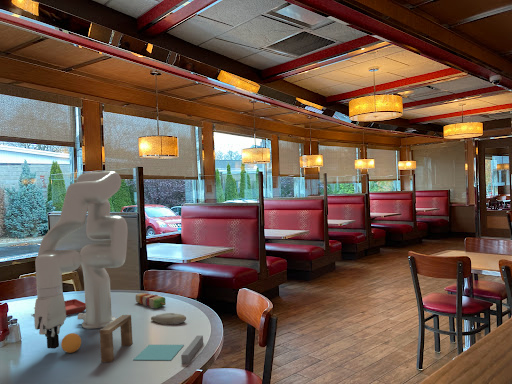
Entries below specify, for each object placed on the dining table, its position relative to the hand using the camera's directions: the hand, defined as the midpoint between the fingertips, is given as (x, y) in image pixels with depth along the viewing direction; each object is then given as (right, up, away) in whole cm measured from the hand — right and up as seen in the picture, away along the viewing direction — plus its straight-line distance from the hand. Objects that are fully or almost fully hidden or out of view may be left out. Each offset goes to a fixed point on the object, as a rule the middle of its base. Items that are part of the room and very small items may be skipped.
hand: (53, 347), depth 137 cm
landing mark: (+36, 0, -5) cm, 37 cm away
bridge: (+22, 0, -3) cm, 23 cm away
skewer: (+20, -1, +51) cm, 54 cm away
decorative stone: (+33, 0, +25) cm, 41 cm away
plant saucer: (-19, -3, +47) cm, 51 cm away
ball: (+6, +2, -1) cm, 7 cm away
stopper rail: (+47, +1, -7) cm, 48 cm away
